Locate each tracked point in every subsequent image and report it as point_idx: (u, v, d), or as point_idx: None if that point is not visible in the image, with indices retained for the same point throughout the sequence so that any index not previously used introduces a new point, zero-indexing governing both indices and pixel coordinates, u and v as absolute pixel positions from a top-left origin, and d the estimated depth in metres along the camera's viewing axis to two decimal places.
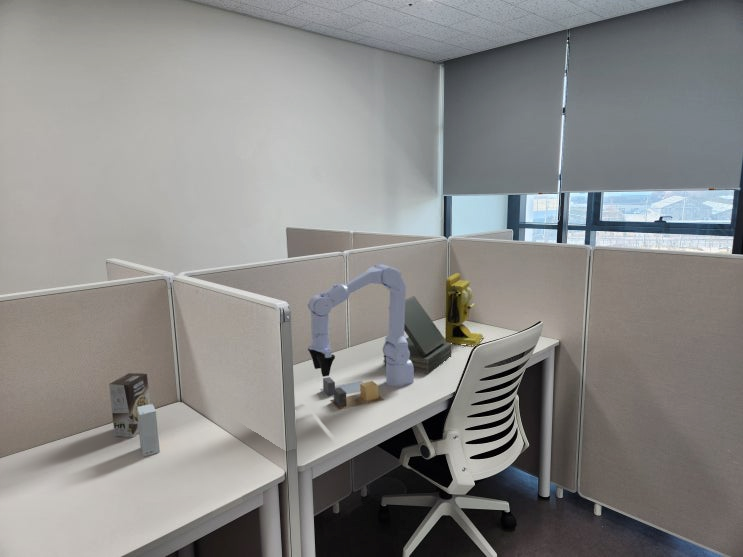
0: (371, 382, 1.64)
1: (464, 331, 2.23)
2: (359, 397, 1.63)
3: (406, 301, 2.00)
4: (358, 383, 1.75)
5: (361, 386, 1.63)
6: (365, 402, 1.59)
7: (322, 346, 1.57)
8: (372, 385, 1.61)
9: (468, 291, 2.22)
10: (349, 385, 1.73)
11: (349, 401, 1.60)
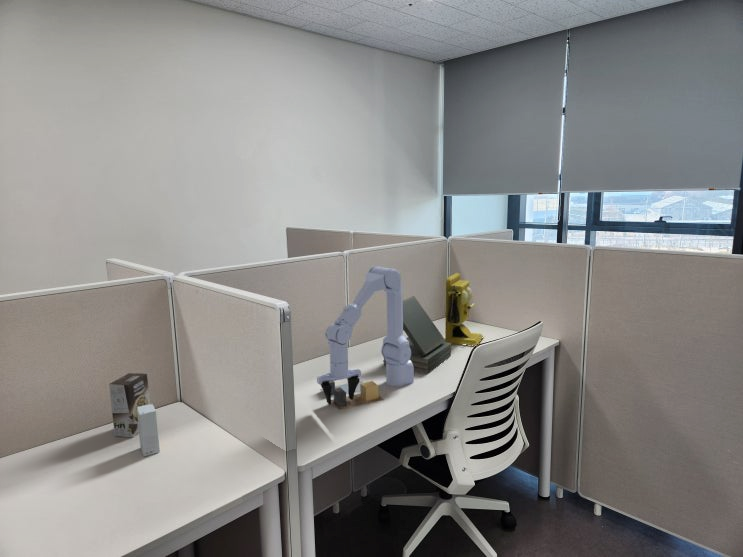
0: (371, 382, 1.64)
1: (464, 331, 2.23)
2: (359, 397, 1.63)
3: (406, 301, 2.00)
4: (358, 383, 1.75)
5: (361, 386, 1.63)
6: (365, 402, 1.59)
7: (330, 373, 1.56)
8: (372, 385, 1.61)
9: (468, 291, 2.22)
10: None
11: (349, 401, 1.60)
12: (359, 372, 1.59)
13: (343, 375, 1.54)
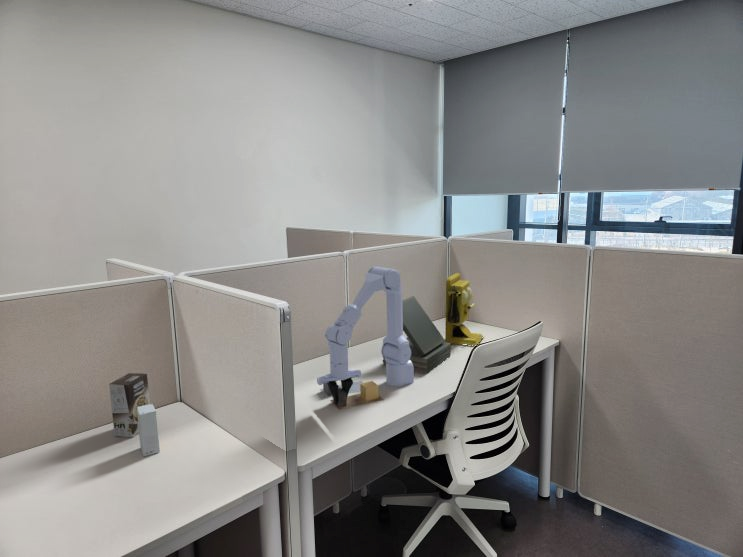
0: (371, 382, 1.64)
1: (464, 331, 2.23)
2: (359, 397, 1.63)
3: (405, 301, 2.00)
4: (358, 383, 1.75)
5: (361, 386, 1.63)
6: (365, 402, 1.59)
7: (330, 374, 1.56)
8: (372, 385, 1.61)
9: (468, 291, 2.22)
10: None
11: (349, 401, 1.60)
12: (359, 373, 1.59)
13: (343, 376, 1.54)
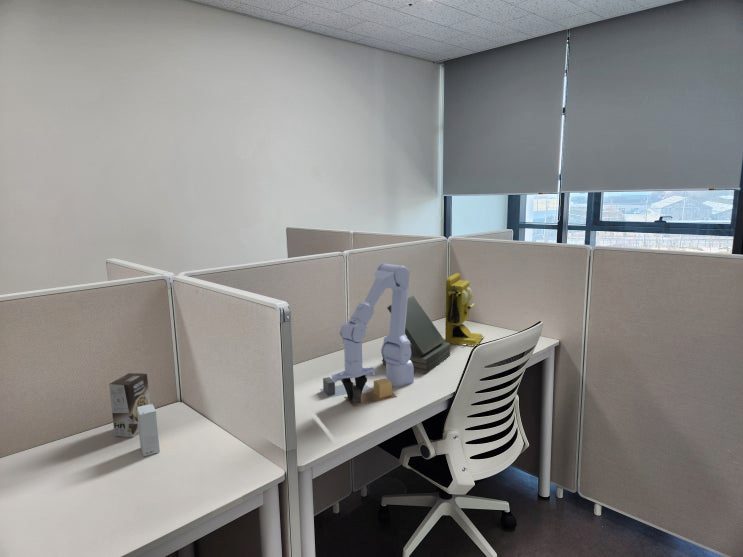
0: (384, 379, 1.66)
1: (464, 331, 2.23)
2: (373, 394, 1.65)
3: None
4: None
5: (374, 383, 1.65)
6: (379, 399, 1.61)
7: (345, 371, 1.58)
8: (386, 383, 1.63)
9: (468, 291, 2.22)
10: None
11: (363, 398, 1.62)
12: (373, 370, 1.61)
13: (358, 373, 1.57)
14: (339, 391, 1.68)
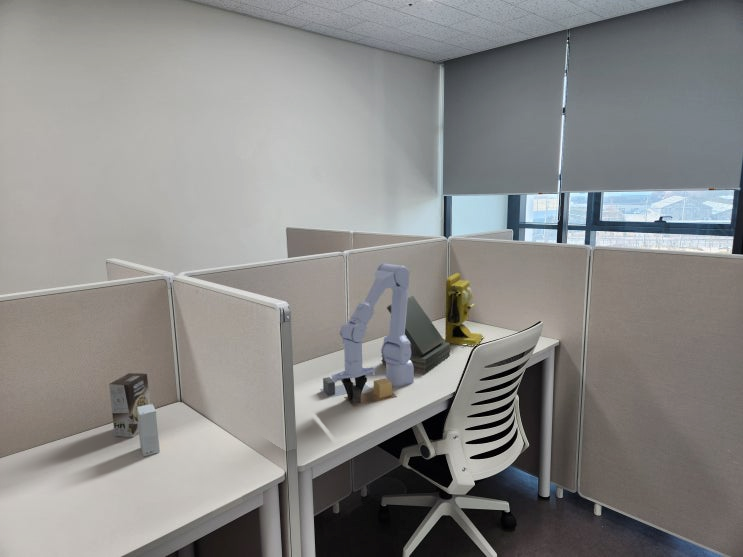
0: (384, 379, 1.66)
1: (464, 331, 2.23)
2: (373, 394, 1.65)
3: None
4: None
5: (374, 383, 1.65)
6: (379, 399, 1.61)
7: (345, 371, 1.58)
8: (386, 383, 1.63)
9: (468, 291, 2.22)
10: None
11: (363, 398, 1.62)
12: (373, 370, 1.61)
13: (358, 373, 1.57)
14: (339, 391, 1.68)
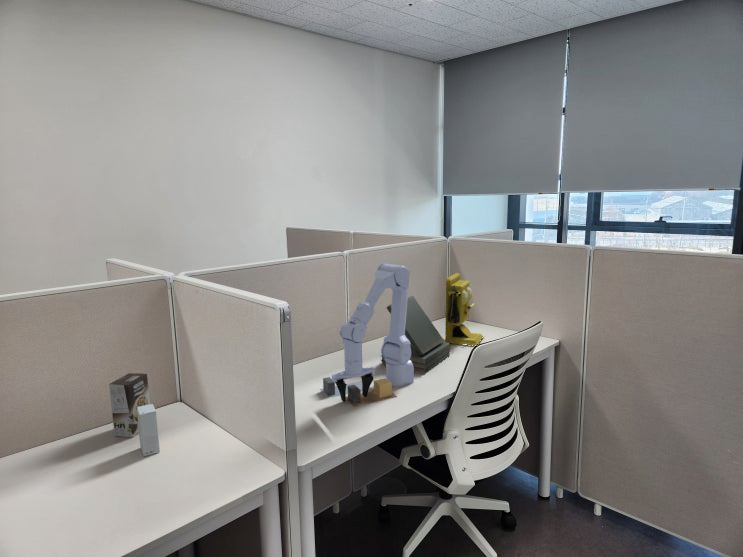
0: (384, 379, 1.66)
1: (464, 331, 2.23)
2: (373, 394, 1.65)
3: None
4: (358, 383, 1.75)
5: (374, 383, 1.65)
6: (379, 399, 1.61)
7: (345, 371, 1.58)
8: (386, 383, 1.63)
9: (468, 291, 2.22)
10: None
11: (363, 398, 1.62)
12: (373, 370, 1.61)
13: (357, 373, 1.56)
14: None
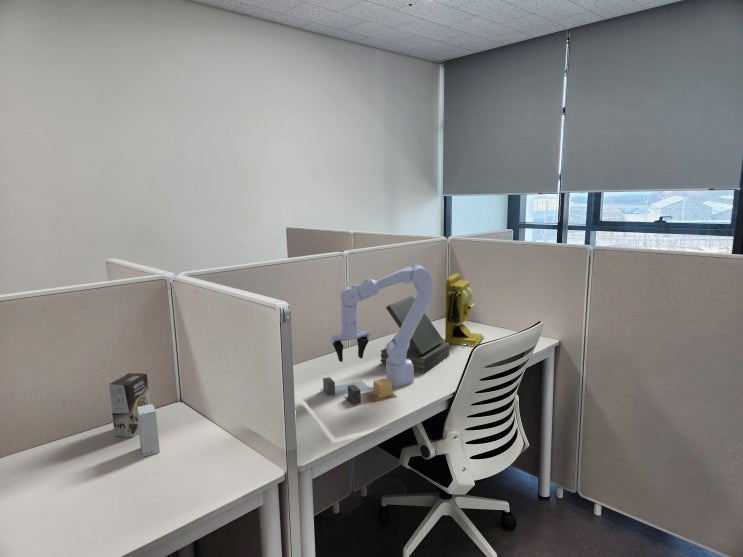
0: (384, 379, 1.66)
1: (464, 331, 2.23)
2: (373, 394, 1.65)
3: (404, 301, 2.00)
4: (358, 383, 1.75)
5: (374, 383, 1.65)
6: (379, 399, 1.61)
7: (342, 333, 1.70)
8: (386, 383, 1.63)
9: (468, 291, 2.22)
10: None
11: (363, 398, 1.62)
12: (368, 333, 1.73)
13: (354, 335, 1.68)
14: (339, 391, 1.68)
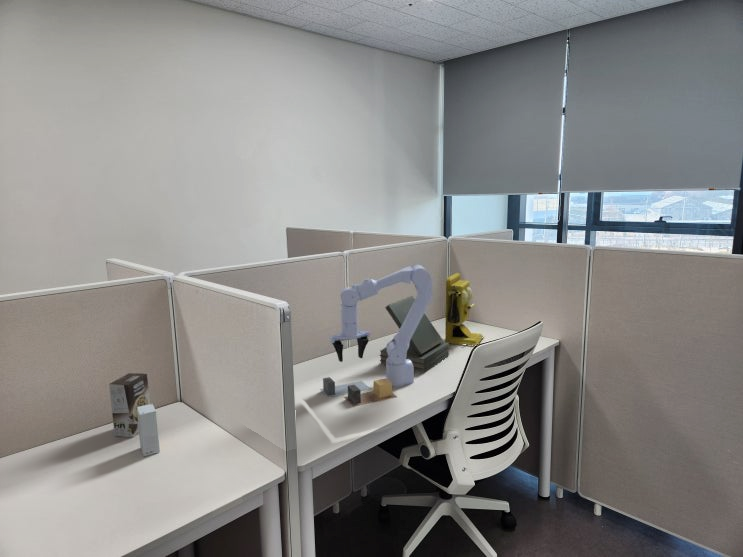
0: (384, 379, 1.66)
1: (464, 331, 2.23)
2: (373, 394, 1.65)
3: (403, 301, 2.01)
4: (358, 383, 1.75)
5: (374, 383, 1.65)
6: (379, 399, 1.61)
7: (342, 333, 1.70)
8: (386, 383, 1.63)
9: (468, 291, 2.22)
10: None
11: (363, 398, 1.62)
12: (368, 333, 1.73)
13: (354, 335, 1.68)
14: (339, 391, 1.68)
